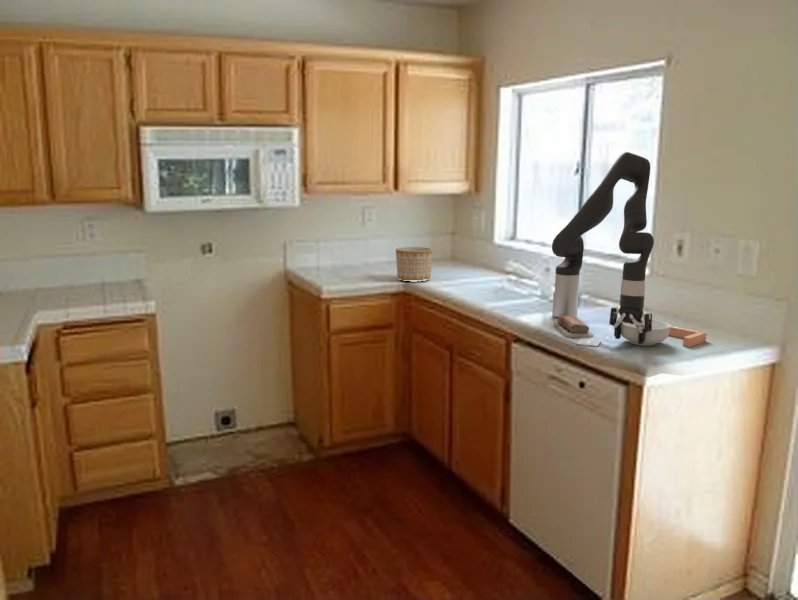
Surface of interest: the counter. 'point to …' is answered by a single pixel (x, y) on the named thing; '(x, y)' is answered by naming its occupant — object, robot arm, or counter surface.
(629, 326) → the cereal bowl
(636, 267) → the robot arm
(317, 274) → the counter surface
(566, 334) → the packaged product
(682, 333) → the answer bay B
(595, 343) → the tile
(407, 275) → the planter
